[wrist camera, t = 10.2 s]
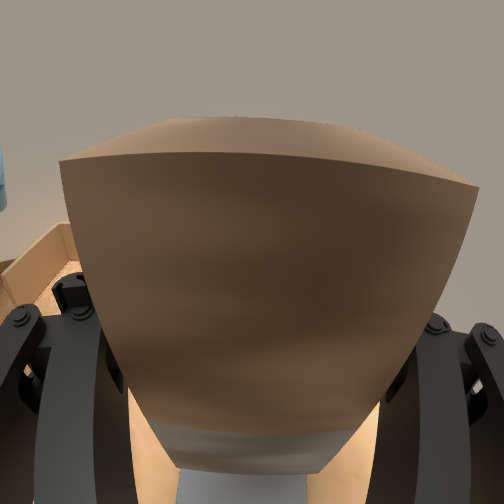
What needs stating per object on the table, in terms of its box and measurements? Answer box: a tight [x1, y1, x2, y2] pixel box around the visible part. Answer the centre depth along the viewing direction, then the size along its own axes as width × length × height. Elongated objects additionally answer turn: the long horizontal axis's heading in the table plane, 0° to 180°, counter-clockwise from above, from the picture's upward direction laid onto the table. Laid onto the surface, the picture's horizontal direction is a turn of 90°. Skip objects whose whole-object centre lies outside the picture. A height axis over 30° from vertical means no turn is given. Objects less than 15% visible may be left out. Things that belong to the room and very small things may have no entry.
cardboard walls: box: [1, 221, 79, 308], centre depth 33 cm, size 28×22×7 cm
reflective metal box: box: [59, 117, 479, 475], centre depth 9 cm, size 6×6×12 cm
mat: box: [176, 468, 307, 504], centre depth 18 cm, size 10×14×1 cm
